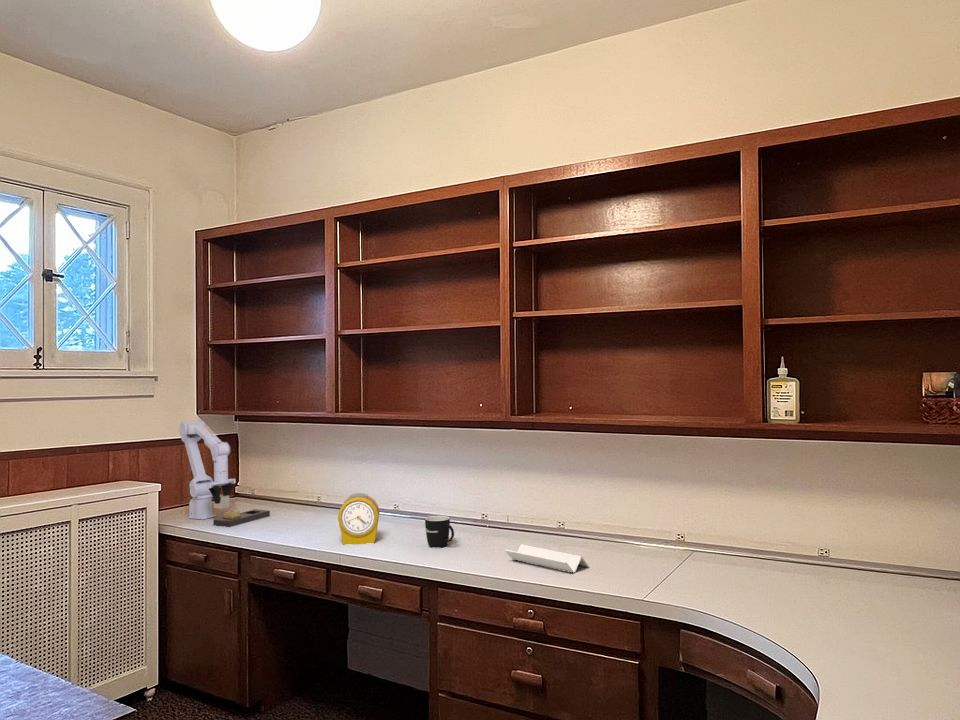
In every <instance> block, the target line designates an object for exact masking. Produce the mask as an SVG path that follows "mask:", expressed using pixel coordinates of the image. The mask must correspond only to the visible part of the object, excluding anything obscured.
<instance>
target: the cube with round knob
mask: <svg viewBox="0 0 960 720" xmlns="http://www.w3.org/2000/svg"><path fill="white" fill-rule="evenodd" d="M229 507H230V496H229V495H223V494H220V501H219V504H216V503H215V502H214V501H213V508H214V509H219V510H222V509H226V508H229Z"/></svg>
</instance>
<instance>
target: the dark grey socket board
mask: <svg viewBox="0 0 960 720" xmlns="http://www.w3.org/2000/svg"><path fill="white" fill-rule="evenodd" d="M267 517H271V510H266V509H257V508H256V509H255V508H253V509H250V510H246V511H242V512H240V518H236V519H232V520H231V519H224V516H222V517H218V518H215V519H213V521H212V522H213V523H212V524H213V526H215V525H216V526H217V527H224V526H225V527H226V528H231V527H234V526H238V525H241V524H246V523H249V522H253V521H256V520H261V519H264V518H267ZM216 526H215V527H216ZM225 527H224V528H225Z"/></svg>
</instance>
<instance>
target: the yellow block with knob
mask: <svg viewBox="0 0 960 720" xmlns="http://www.w3.org/2000/svg"><path fill="white" fill-rule="evenodd" d="M240 513H241V511H239V510H229V511H224V512H223V517H224V519H231V520H232V519H236V518H240Z"/></svg>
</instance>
